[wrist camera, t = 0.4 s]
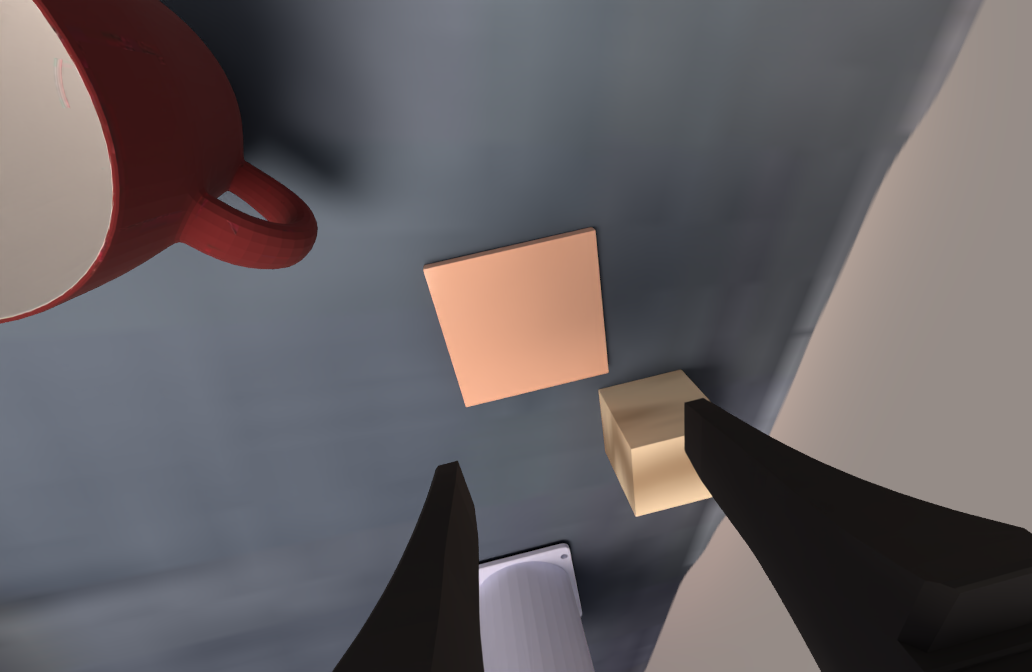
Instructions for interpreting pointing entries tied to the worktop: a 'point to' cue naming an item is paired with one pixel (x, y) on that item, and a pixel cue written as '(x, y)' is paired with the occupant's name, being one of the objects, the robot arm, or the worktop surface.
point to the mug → (122, 153)
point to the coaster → (522, 315)
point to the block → (651, 441)
